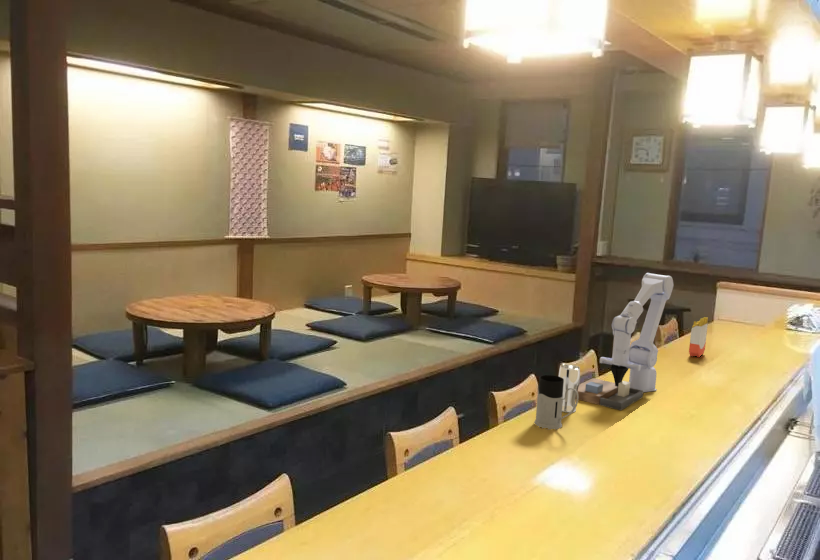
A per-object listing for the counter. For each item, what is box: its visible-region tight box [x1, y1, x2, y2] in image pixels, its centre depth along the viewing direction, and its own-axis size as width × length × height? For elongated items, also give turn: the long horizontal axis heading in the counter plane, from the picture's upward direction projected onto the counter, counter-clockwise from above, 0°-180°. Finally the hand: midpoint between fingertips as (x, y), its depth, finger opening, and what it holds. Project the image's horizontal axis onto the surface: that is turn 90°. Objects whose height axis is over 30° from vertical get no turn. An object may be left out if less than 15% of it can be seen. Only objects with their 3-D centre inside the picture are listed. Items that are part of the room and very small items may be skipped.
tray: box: [599, 388, 644, 411], centre depth 243 cm, size 8×20×2 cm, turn 141°
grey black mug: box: [533, 374, 579, 430], centre depth 213 cm, size 9×14×15 cm, turn 44°
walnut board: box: [576, 377, 618, 406], centre depth 249 cm, size 12×20×3 cm, turn 141°
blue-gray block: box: [585, 382, 603, 394], centre depth 243 cm, size 4×4×2 cm
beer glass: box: [558, 363, 581, 414], centre depth 230 cm, size 7×7×15 cm
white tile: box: [617, 380, 630, 397], centre depth 247 cm, size 4×4×2 cm
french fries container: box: [688, 316, 709, 358], centre depth 314 cm, size 5×11×18 cm, turn 142°
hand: (617, 385), depth 248 cm, fingers closed
